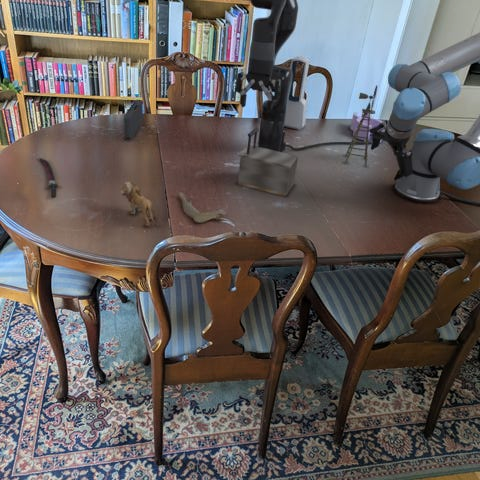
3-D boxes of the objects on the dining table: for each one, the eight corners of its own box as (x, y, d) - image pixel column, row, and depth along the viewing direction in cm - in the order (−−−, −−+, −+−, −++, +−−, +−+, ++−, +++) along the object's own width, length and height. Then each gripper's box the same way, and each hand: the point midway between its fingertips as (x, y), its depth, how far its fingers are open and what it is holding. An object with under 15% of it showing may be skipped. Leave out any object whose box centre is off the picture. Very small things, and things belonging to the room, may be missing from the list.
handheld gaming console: (136, 121, 202) (136, 98, 197) (143, 121, 202) (142, 98, 197) (123, 140, 183) (122, 115, 178) (130, 141, 183) (130, 116, 178)
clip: (343, 126, 223) (346, 112, 219) (367, 127, 225) (371, 113, 221) (360, 142, 206) (364, 127, 202) (386, 142, 209) (390, 127, 205)
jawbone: (206, 230, 134) (206, 224, 132) (158, 205, 144) (157, 199, 143) (227, 217, 139) (227, 212, 138) (179, 194, 150) (179, 188, 148)
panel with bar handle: (238, 156, 155) (240, 132, 151) (248, 146, 163) (250, 124, 159) (289, 168, 150) (293, 144, 146) (298, 158, 158) (301, 135, 154)
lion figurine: (118, 210, 138) (116, 182, 133) (132, 204, 141) (131, 177, 137) (151, 229, 130) (150, 201, 126) (165, 223, 134) (165, 195, 129)
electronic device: (304, 126, 217) (316, 59, 201) (301, 131, 211) (313, 62, 195) (279, 121, 220) (288, 54, 204) (275, 125, 214) (284, 57, 198)
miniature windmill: (366, 166, 183) (386, 89, 167) (344, 163, 184) (362, 86, 168) (365, 158, 191) (384, 83, 175) (345, 154, 192) (362, 80, 176)
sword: (61, 197, 141) (61, 193, 140) (50, 198, 139) (50, 194, 139) (49, 160, 164) (48, 156, 163) (39, 160, 163) (39, 157, 162)
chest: (237, 184, 160) (240, 156, 155) (248, 173, 168) (250, 147, 163) (285, 196, 156) (289, 168, 150) (293, 184, 164) (298, 158, 158)
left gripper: (235, 54, 140) (230, 107, 149) (280, 62, 137) (272, 116, 145) (244, 50, 146) (239, 102, 155) (287, 58, 143) (280, 110, 151)
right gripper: (364, 104, 141) (355, 140, 161) (414, 167, 133) (398, 196, 153) (385, 93, 142) (374, 129, 162) (436, 154, 134) (417, 185, 154)
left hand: (255, 109), depth 150 cm, fingers open, 8 cm apart
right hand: (386, 162), depth 158 cm, fingers open, 13 cm apart
